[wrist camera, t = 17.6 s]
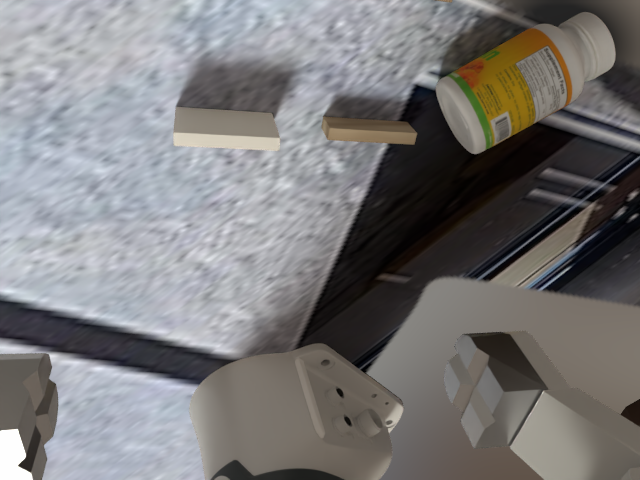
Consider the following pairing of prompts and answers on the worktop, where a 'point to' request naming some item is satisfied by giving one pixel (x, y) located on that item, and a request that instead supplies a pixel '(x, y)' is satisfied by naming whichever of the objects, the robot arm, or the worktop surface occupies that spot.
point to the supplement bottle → (524, 80)
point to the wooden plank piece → (369, 129)
